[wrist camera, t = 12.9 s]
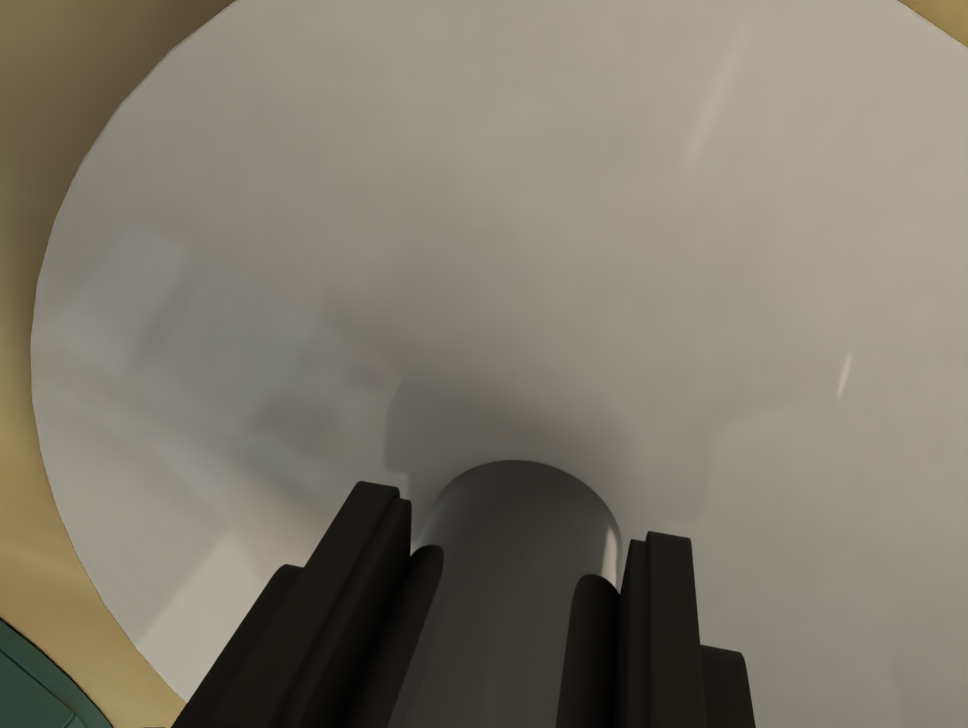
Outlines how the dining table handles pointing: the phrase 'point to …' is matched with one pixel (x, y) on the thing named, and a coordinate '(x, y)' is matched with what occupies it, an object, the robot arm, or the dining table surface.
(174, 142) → the lid
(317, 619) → the robot arm
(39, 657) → the canister
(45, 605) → the dining table surface
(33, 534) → the dining table surface
